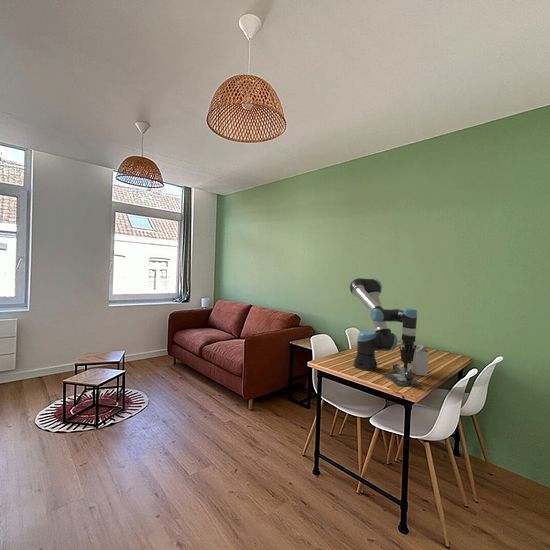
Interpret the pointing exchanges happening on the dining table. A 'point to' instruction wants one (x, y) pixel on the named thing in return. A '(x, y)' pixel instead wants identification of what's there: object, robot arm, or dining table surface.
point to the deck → (401, 380)
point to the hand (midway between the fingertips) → (406, 373)
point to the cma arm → (403, 371)
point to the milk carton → (420, 361)
